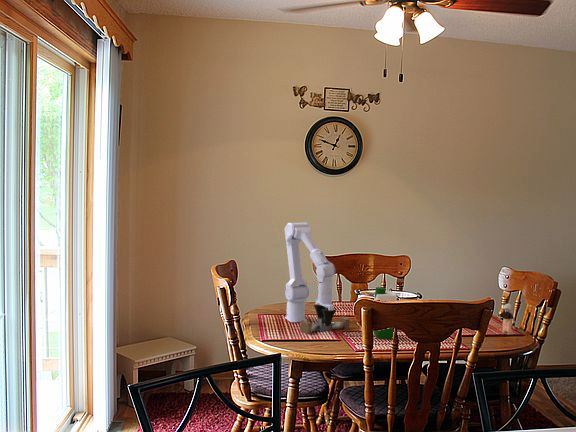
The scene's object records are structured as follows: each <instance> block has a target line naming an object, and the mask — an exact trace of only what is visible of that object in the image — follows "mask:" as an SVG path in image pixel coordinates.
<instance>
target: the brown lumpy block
mask: <svg viewBox="0 0 576 432" xmlns="http://www.w3.org/2000/svg"><path fill="white" fill-rule="evenodd" d="M319 329H320V325H319V324H318V322H315V323H312V322H310V321H300V322H299V331H301V333H303V332H304V334H305V335H310V334H312V332H316V331H320V330H319Z"/></svg>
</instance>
